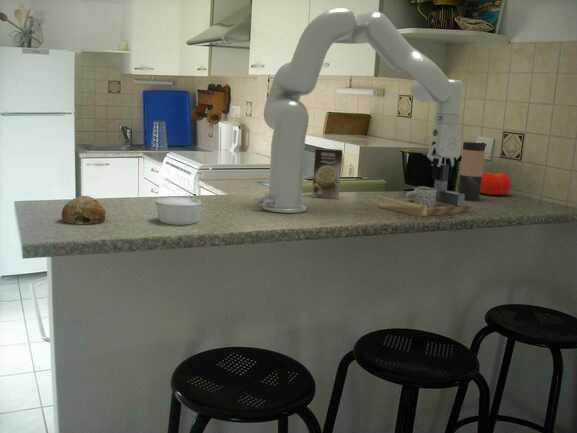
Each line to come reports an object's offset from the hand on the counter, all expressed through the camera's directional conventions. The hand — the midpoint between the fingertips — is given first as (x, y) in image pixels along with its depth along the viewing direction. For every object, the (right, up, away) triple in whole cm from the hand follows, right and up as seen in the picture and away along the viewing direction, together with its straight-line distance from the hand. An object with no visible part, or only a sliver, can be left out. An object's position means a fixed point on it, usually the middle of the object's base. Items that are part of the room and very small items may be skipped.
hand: (441, 178), depth 198 cm
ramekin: (-76, -14, -41) cm, 87 cm away
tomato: (+29, -4, +42) cm, 52 cm away
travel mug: (+16, -6, +25) cm, 30 cm away
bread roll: (-98, -13, -46) cm, 109 cm away
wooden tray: (-5, -10, -2) cm, 11 cm away
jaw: (0, -7, +1) cm, 7 cm away
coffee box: (-36, -6, +13) cm, 38 cm away
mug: (-8, -10, -3) cm, 13 cm away
